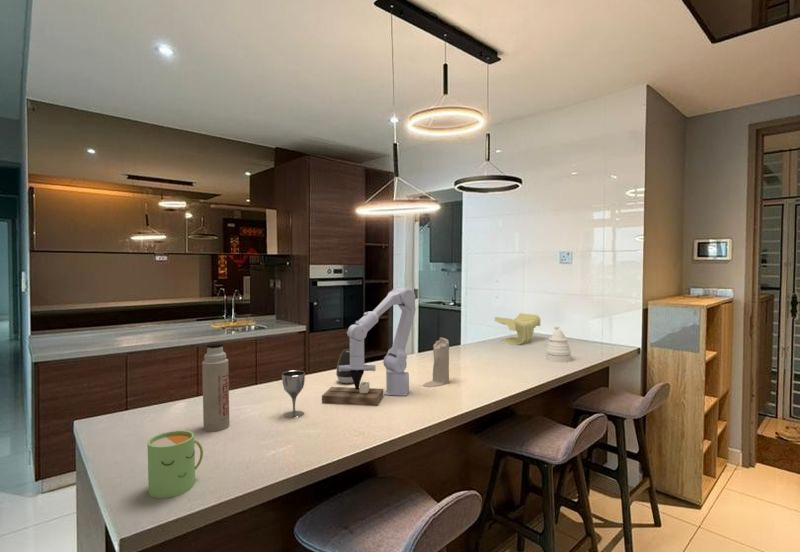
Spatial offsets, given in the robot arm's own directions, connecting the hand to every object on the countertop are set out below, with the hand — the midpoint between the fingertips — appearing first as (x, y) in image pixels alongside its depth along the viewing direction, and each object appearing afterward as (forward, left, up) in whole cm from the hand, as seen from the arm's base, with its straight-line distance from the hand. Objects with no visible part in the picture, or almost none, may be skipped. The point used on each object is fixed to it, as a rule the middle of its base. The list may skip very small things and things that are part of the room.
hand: (357, 388), depth 171 cm
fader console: (+2, 0, -4) cm, 5 cm away
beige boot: (-29, -27, -5) cm, 40 cm away
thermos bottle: (+40, +34, -5) cm, 52 cm away
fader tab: (-3, 0, -1) cm, 3 cm away
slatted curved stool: (-77, -133, -5) cm, 154 cm away
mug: (+28, +70, -5) cm, 75 cm away
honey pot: (-93, -83, -5) cm, 125 cm away
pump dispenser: (+11, -24, -5) cm, 27 cm away
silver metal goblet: (+19, +19, -5) cm, 27 cm away
